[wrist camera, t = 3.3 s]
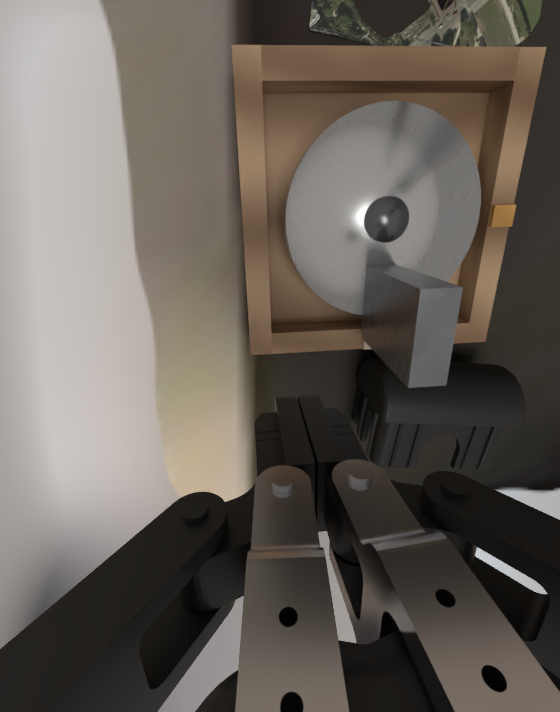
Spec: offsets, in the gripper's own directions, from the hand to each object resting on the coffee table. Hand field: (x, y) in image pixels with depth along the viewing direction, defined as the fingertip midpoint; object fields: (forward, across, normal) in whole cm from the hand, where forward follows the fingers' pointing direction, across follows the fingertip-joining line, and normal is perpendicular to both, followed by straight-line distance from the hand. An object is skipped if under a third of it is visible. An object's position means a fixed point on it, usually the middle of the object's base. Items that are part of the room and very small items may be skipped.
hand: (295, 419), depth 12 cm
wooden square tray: (+15, -7, -6) cm, 17 cm away
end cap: (+15, -12, +7) cm, 21 cm away
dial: (+12, -7, -5) cm, 15 cm away
